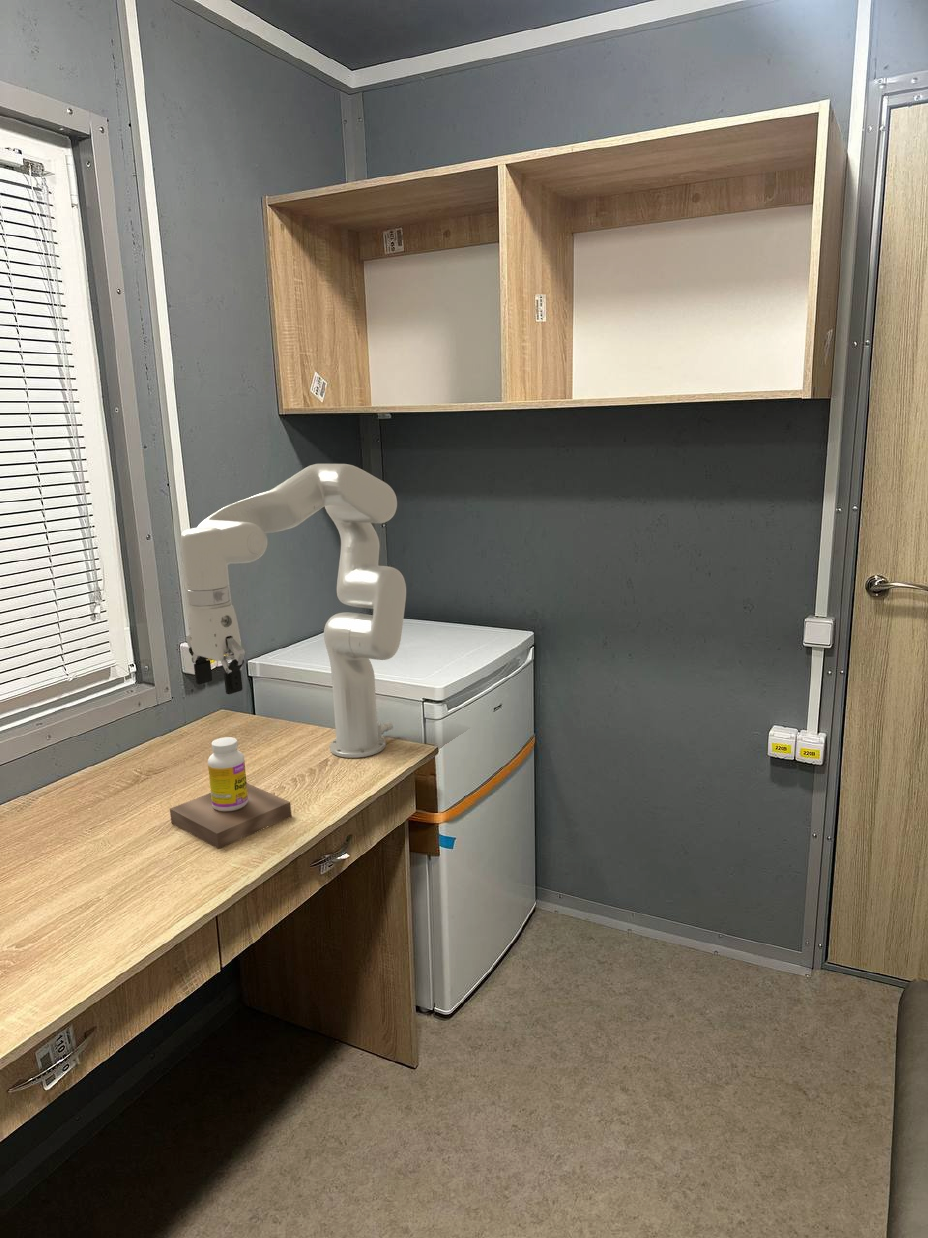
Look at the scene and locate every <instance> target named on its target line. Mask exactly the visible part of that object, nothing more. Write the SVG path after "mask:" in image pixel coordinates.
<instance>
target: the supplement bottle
mask: <svg viewBox="0 0 928 1238" xmlns="http://www.w3.org/2000/svg"><path fill="white" fill-rule="evenodd" d="M238 746H239V744H238V740H237V738H235V737H231V736H224V737H220V738H215V739H214V740H212V742H211V750H212V754H211V755H210V756H209V757H208V759H207V768H208V776H209V788H210V793H211V799H212V806H213V808H214V809H216V810H218V811H234V810H238V809H240V808H242V807H244V806H245V805H246V804H247V802H248V793H247V783H248V782H247V774H246V773H247V771H246V760H245V756H244V753H243V752H242V751H240V750H238V748H239V747H238Z"/></svg>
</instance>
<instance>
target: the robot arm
mask: <svg viewBox="0 0 928 1238" xmlns="http://www.w3.org/2000/svg"><path fill="white" fill-rule="evenodd" d="M397 499H398V498H397V496H396V493H395V491H394V489H393V488H392V486H390V485H389V484H388V483H387V482H385V481H383V480H381V479H379V478H378V477H376V476H374V475H372V474H371V473H369V472H367V471H365V470H364V469H361V468H360V467H358V466H355V465H353V464H347V463H315V464H311V465H308V466H307V467H305V468H303V469H302V470H300V471H298V472H297V473H295V474H294V475H292V476H291V477H289V478H287V479H285V481H282V483H280V484H278V485H276V486H275V487H274V488H271V489H269V490H267V491H264V492H260V493H258V494H255V495H253V496H250V497H247V498H245V499H241V500H239V501H236V502H234V503H230V504H228V505H226V506H224V507H222V508H221V509H219V510H217V511H215V512H213V513H211V515H209V516H208V517H206V518H205V519H203V520H202V521H201V522H199V524H198V526H197V527H191V528H187V529H185V530H184V531H182V533H181V534H180V546H181V556H182V565H183V566H182V567H183V573H184V583H185V590H186V598H187V607H188V630H189V635H187V636H186V637H185V641H186V644H187V646H188V653H190V655H191V662H192V664H193V668H194V678H195V683H196V685H203V684H206V683H210V682H212V681H213V674H212V673H213V672H212V665H211V661H216V662H220V663H221V665H222V667H223V669H224V670H225V672H224V673H223V678H224V690H225V694H226V695H232V694H235V693H238V692H241V691H243V688H244V687H243V681H242V680H243V679H242V670H243V666H244V663H245V661H244V659H245V655H246V651H245V649H244V647H242V640H241V635H240V628H239V623H238V619H237V618H238V617H237V614H236V611H235V608H234V605H233V604H232V596H231V587H230V586H231V585H230V578H229V577H230V575H229V568H228V566H229V565H231V564H247V563H253V562H255V561H257V560H258V559H260V558H261V557H263V555H264V554H265V552H266V550H267V547H268V537H267V534H271V533H278V532H281V531H286V530H289V529H293V528H295V527H297V526H299V525H300V524H302V523H304V521H306V520H307V519H308V518H310V517H311V516H313V515H314V514H316V513H317V512H318V511H320V510H321V509H323V508H324V509H325V511H326V513H327V515H328V516H329V517H330V519H331V521H332V522H333V523H334V525H335V527H336V529H337V530H338V533H339V537H340V557H339V563H338V570H337V571H338V572H337V581H336V595H337V599H338V600H339V602H340V603H342V604H343V605H345V606H350V607H354V608H364V609H372V611H373V613H372V614H367V613H360V612H357V613H356V612H346V611H345V612H339V613H336V614H334V615H332V616H330V617H329V618H328V620H327V621H326V623H325V624H324V625H325V626H324V629H323V639H324V645H325V648H326V651H327V652H326V653H327V654H328V659H329V663H330V671H331V673H330V674H331V682H332V683H331V685H332V698H333V712H334V725H335V739H334V740H332V741H331V742H330V744H329V750H330V752H331V753H332V754H333V755H334V756H337V757H340V758H347V759H349V758H350V759H352V758H353V759H356V758H365V757H371V756H373V755H376V754H379V753H381V752H382V751H383V750H384V749H385V747H386V740H385V738H384V737H383V735H384V734H385V733H387V732H389V731H391V730H393V729H394V724H393V723H392V722H391V721H387V722H384V723H383V724H381V722H380V721H378V713H377V712H378V711H377V697H376V696H377V695H376V694H377V693H376V677H375V672H374V671H375V670H374V667H373V665H372V663H371V660H377V661H387V660H390V659H392V658H393V657H394V656H395V655H396V653H397V652H398V650H399V649H400V645H401V640H402V633H403V625H404V617H405V608H406V602H407V601H406V600H407V584H406V581H405V577H404V575H403V574H402V572H400V570H398V568H395V567H393V566H387V565H379V557H380V548H381V547H380V539H379V536H378V534H377V531H376V530H375V527H374V526H373V524H383V523H386V522H389V521H390V520H391V519H392V518H393V517H394V516H395V514H396V511H397V509H398V500H397ZM229 661H231V662H230V663H229Z"/></svg>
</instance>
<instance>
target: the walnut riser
mask: <svg viewBox="0 0 928 1238" xmlns="http://www.w3.org/2000/svg"><path fill="white" fill-rule="evenodd" d="M247 793H248V802H247V804H246V805H245V806H244V807H242V808H240V809H238V810H234V811H218V810H216V809H214V808H213V806H212V799H211V792H210V793H207V794H204V795H202V796H199V797H197V798H194V799H192V800H189V801H186V802H184V803H181V804H179V805H175V806H173V807H171V808H169V813H170V821H171V824H172V825H174V826H176V827H178V828H179V829H182V830H183V831H185V832H187V833H188V834H190V835H192V836H194V837H196V838H197V839H200V840H201V841H204V842H205V843H208V844H209V845H211V846H213V847H214V848H217V849H218V850H220V849H222V848H224V847H226V846H228V845H231V844H233V843H235V842H238V841H240V840H243V839H245V838H247V837H248V836H249V837H250V836H251V835H253V834H255V832H256V833H258V832H260V831H262V830H264V829H263V828H265V829H267V828H268V827H267V826H269V827H271V826H273V825H276V824H278V823H280V822H282V820H283V821H285V820H287V819H289V818H291V817H292V807H291V806H292V805H291V801H289V800H286V799H284V798H281V796H278V795H275V794H273V793H270V792H268V791H266V790H263V789H262V788H259V787H257V786H255V785H252V784H250V783H248V782H247ZM284 819H285V820H284ZM275 823H276V824H275ZM266 827H267V828H266ZM261 829H262V830H261ZM259 830H260V831H259ZM257 831H258V832H257ZM244 837H245V838H244Z"/></svg>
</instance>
